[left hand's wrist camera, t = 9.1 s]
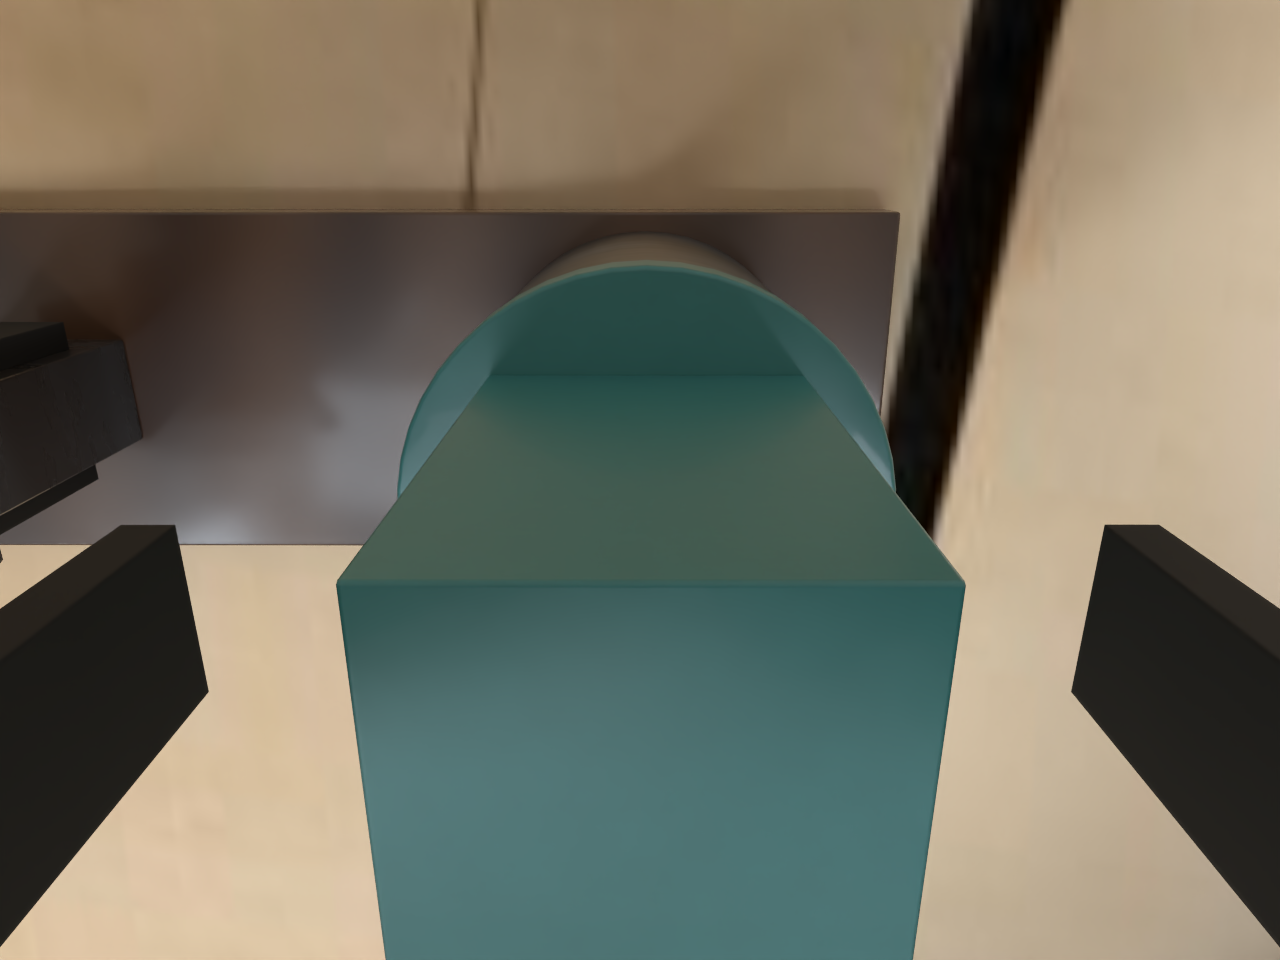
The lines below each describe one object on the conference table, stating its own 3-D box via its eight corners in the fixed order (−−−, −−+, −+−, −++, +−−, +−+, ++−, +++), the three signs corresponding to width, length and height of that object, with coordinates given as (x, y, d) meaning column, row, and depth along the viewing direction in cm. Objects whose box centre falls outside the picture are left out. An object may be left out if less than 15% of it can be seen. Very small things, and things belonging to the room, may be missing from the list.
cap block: (906, 259, 15) (1232, 371, 7) (861, 702, 18) (1047, 1157, 10) (387, 259, 15) (71, 370, 7) (429, 702, 18) (250, 1154, 10)
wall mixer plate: (886, 209, 25) (1102, 246, 13) (857, 528, 28) (1008, 781, 17) (-147, 209, 25) (-842, 245, 13) (-54, 527, 29) (-542, 778, 17)
